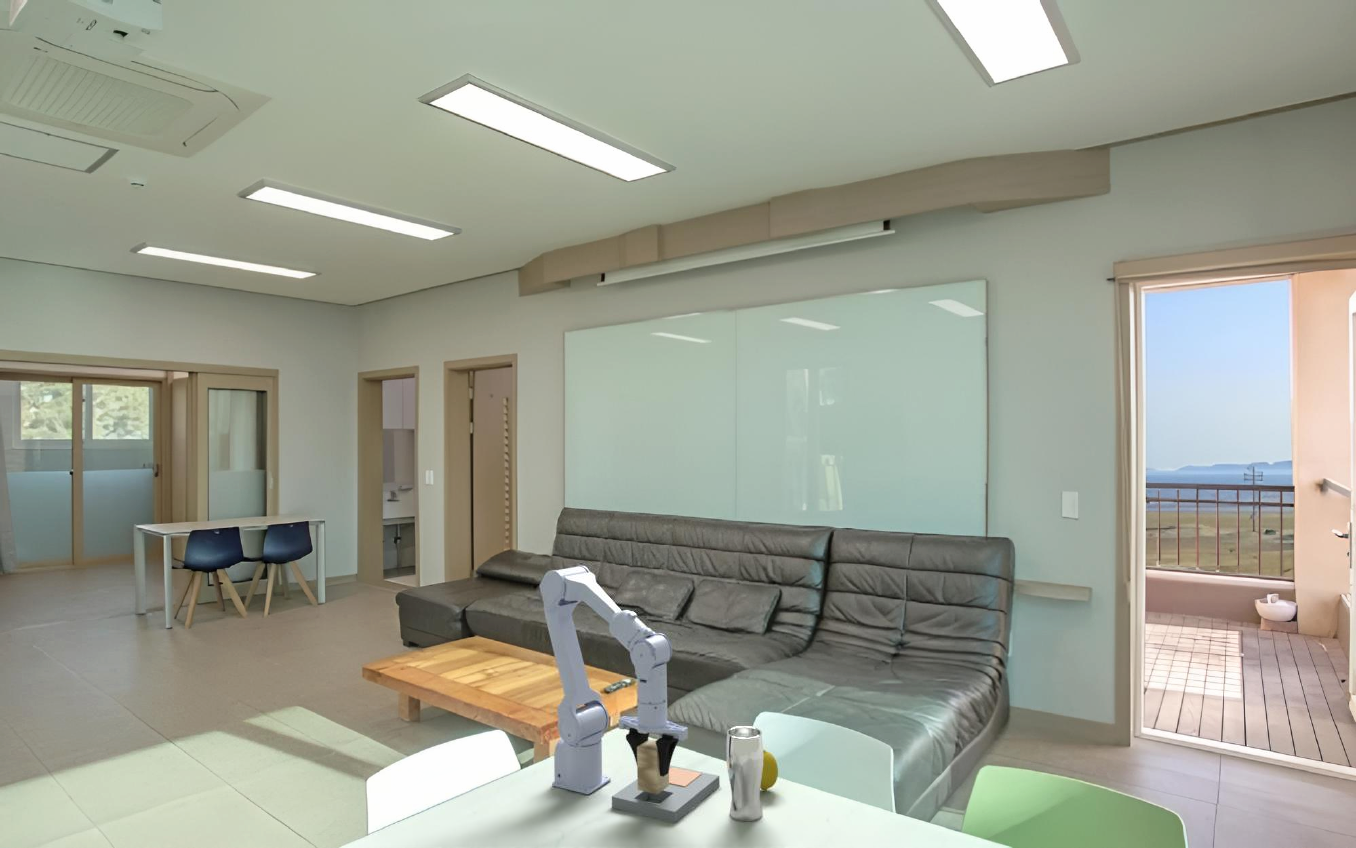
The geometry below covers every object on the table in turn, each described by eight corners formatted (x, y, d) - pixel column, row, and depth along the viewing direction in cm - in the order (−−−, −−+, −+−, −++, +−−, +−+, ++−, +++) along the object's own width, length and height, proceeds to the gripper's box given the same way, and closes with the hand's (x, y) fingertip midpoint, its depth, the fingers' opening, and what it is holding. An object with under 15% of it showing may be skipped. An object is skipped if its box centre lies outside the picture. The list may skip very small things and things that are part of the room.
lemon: (777, 798, 147) (776, 756, 148) (749, 796, 148) (748, 754, 149) (779, 786, 153) (778, 745, 153) (752, 784, 154) (751, 744, 154)
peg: (637, 789, 144) (637, 747, 144) (649, 781, 148) (649, 739, 148) (657, 794, 142) (656, 751, 142) (669, 785, 146) (668, 743, 146)
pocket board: (611, 807, 145) (611, 795, 145) (660, 773, 160) (660, 762, 160) (675, 823, 138) (674, 810, 138) (719, 786, 153) (719, 774, 153)
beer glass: (768, 808, 143) (766, 727, 144) (760, 825, 136) (758, 740, 137) (732, 803, 145) (731, 724, 146) (723, 820, 139) (721, 736, 139)
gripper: (609, 700, 146) (610, 772, 145) (674, 711, 139) (675, 787, 138) (629, 690, 152) (630, 759, 151) (692, 700, 145) (694, 773, 144)
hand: (653, 772), depth 145 cm, fingers closed on peg, 4 cm apart
